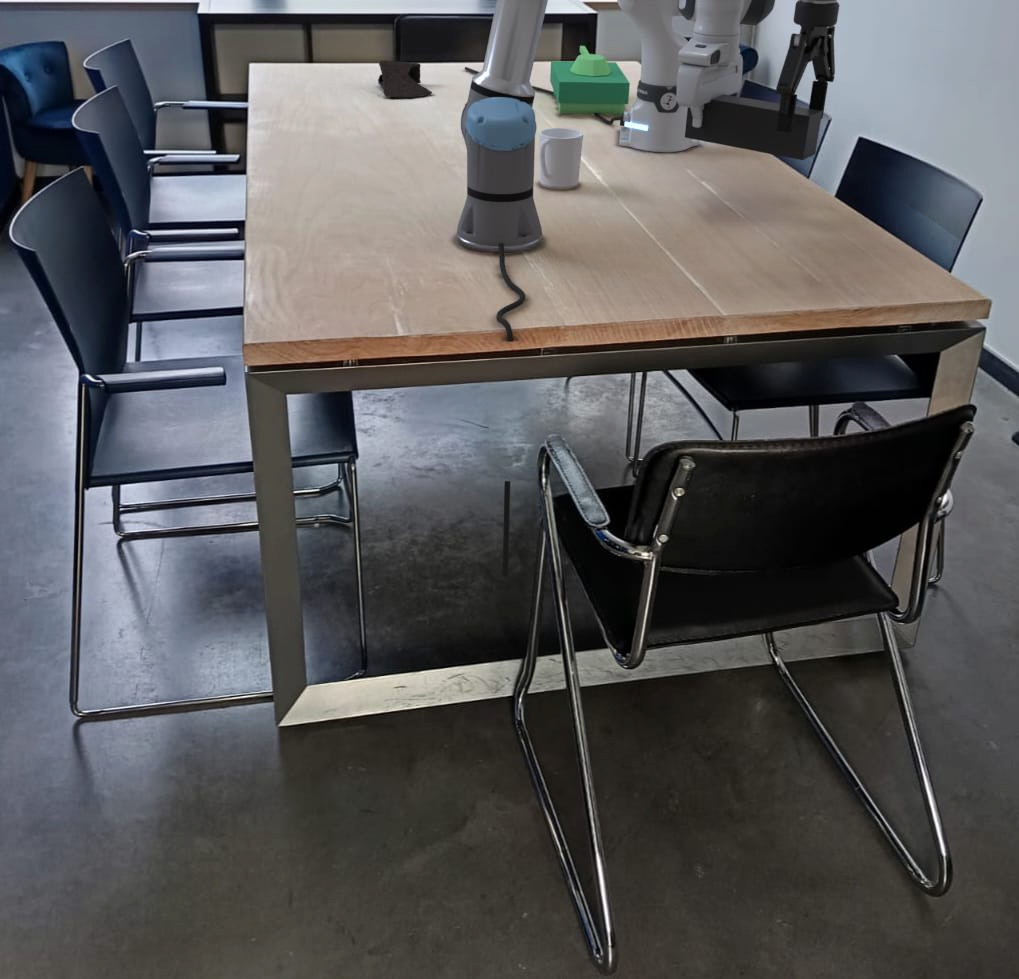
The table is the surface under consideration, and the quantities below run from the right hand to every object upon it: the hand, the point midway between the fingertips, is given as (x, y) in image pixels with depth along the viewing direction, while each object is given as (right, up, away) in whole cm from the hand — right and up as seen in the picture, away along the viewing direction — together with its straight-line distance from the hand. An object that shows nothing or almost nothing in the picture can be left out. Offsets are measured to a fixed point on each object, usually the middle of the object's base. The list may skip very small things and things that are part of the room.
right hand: (706, 123), depth 214 cm
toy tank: (-18, +32, +78) cm, 86 cm away
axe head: (-68, +38, +86) cm, 116 cm away
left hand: (+15, -4, -11) cm, 19 cm away
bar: (+8, -5, -3) cm, 10 cm away
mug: (-29, -9, +11) cm, 32 cm away
